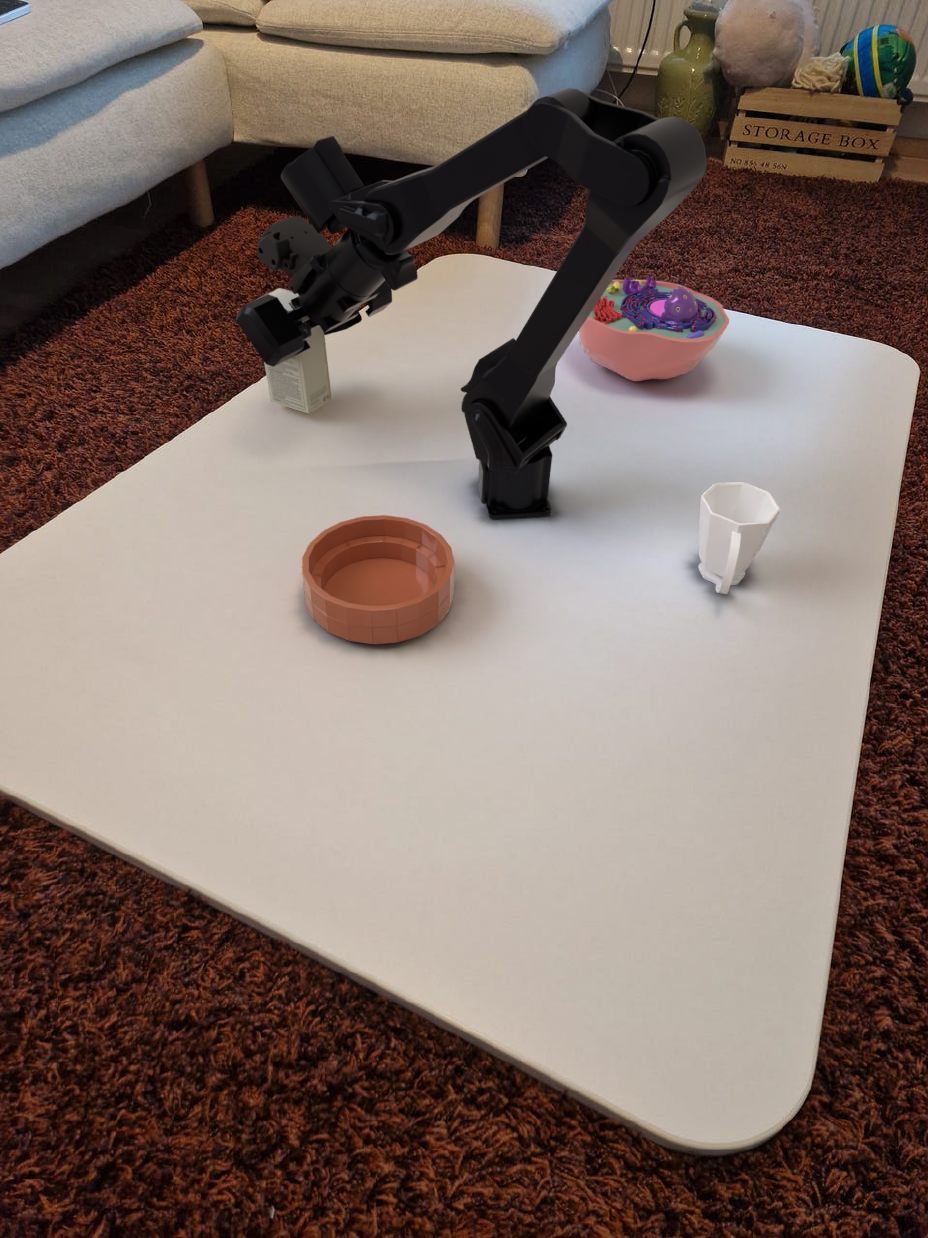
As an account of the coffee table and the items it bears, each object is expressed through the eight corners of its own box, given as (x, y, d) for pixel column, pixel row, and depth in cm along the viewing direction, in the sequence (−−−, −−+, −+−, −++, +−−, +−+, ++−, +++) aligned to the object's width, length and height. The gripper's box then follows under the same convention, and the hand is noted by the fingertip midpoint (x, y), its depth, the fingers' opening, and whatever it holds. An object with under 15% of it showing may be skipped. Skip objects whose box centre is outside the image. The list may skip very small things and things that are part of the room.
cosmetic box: (332, 400, 107) (324, 299, 99) (308, 416, 105) (297, 313, 96) (291, 385, 110) (279, 285, 102) (266, 401, 107) (252, 299, 99)
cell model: (602, 324, 127) (613, 241, 119) (737, 367, 118) (758, 281, 111) (537, 370, 117) (544, 282, 109) (679, 420, 108) (698, 329, 101)
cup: (759, 556, 89) (781, 487, 84) (756, 622, 82) (780, 552, 77) (687, 543, 91) (703, 474, 85) (678, 607, 83) (695, 537, 78)
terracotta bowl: (443, 549, 89) (443, 511, 86) (461, 643, 79) (463, 604, 76) (305, 558, 87) (301, 519, 84) (307, 654, 78) (302, 615, 75)
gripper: (366, 175, 96) (299, 257, 108) (234, 224, 84) (176, 309, 96) (427, 268, 98) (354, 339, 110) (306, 329, 86) (240, 399, 98)
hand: (284, 344), depth 103 cm, fingers closed on cosmetic box, 4 cm apart
